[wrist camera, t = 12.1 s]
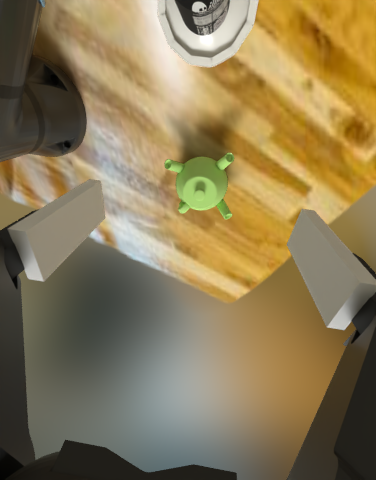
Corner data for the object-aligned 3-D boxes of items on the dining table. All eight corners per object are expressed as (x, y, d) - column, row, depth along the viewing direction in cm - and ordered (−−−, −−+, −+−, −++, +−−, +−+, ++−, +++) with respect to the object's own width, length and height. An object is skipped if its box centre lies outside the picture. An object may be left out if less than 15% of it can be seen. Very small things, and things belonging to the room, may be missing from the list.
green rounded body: (176, 207, 46) (169, 226, 39) (170, 149, 40) (160, 160, 33) (230, 205, 44) (232, 225, 37) (231, 145, 38) (235, 155, 31)
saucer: (159, 62, 33) (156, 60, 32) (162, -77, 26) (159, -86, 25) (243, 72, 32) (244, 70, 31) (270, -67, 25) (273, -76, 24)
